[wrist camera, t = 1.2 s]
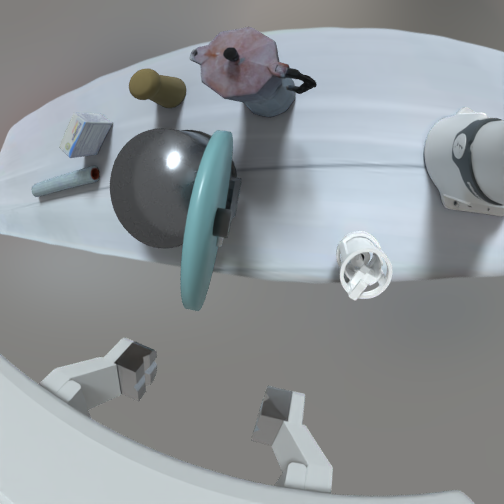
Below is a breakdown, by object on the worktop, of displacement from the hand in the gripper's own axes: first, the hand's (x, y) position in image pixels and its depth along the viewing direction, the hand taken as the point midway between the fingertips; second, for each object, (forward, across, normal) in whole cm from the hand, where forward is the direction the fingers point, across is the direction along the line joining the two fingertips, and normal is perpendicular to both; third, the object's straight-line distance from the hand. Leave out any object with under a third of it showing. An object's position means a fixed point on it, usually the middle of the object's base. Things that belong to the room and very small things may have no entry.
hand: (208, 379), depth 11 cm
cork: (+41, +25, -16) cm, 51 cm away
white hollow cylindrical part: (+41, -12, +4) cm, 43 cm away
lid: (+30, +10, 0) cm, 32 cm away
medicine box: (+41, +41, -7) cm, 59 cm away
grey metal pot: (+41, +19, 0) cm, 45 cm away
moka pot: (+41, +7, -18) cm, 46 cm away
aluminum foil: (+42, +51, +3) cm, 66 cm away
